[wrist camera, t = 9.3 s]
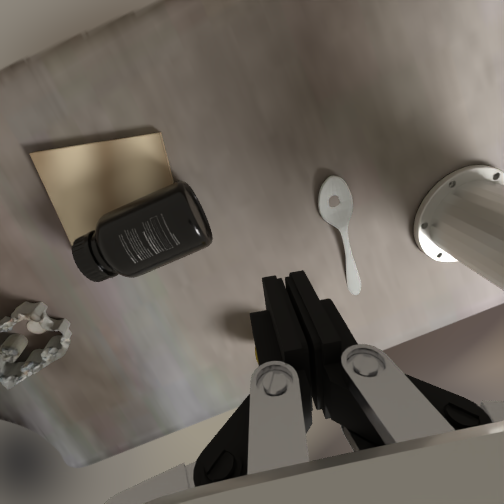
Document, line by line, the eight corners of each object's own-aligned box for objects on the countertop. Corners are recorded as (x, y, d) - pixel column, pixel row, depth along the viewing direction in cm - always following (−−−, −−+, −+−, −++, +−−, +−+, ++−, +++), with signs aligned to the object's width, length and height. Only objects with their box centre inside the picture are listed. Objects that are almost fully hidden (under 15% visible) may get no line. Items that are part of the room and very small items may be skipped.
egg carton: (36, 291, 36) (17, 313, 32) (84, 330, 39) (73, 354, 36) (-31, 335, 37) (-56, 360, 34) (22, 369, 41) (4, 396, 37)
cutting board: (161, 132, 30) (159, 133, 29) (186, 233, 35) (186, 237, 34) (34, 151, 29) (29, 153, 28) (80, 252, 34) (77, 256, 33)
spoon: (343, 166, 34) (349, 169, 33) (372, 301, 44) (377, 308, 43) (308, 179, 35) (313, 183, 33) (344, 311, 44) (349, 318, 43)
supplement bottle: (178, 164, 29) (65, 214, 30) (189, 211, 25) (57, 268, 25) (206, 212, 34) (110, 253, 35) (219, 257, 30) (109, 304, 31)
